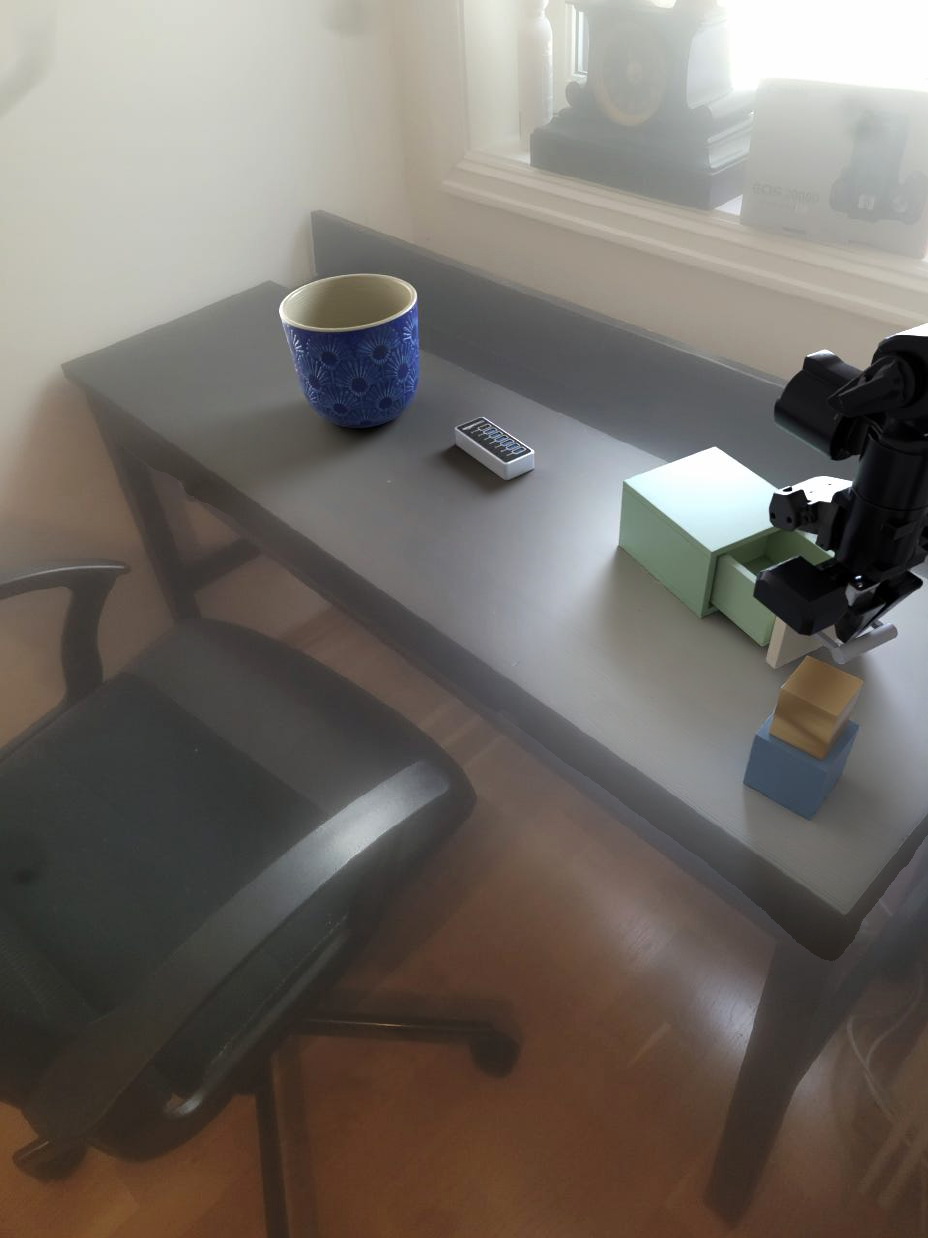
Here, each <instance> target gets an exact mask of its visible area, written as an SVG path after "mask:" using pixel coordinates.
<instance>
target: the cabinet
mask: <svg viewBox="0 0 928 1238" xmlns="http://www.w3.org/2000/svg"><path fill="white" fill-rule="evenodd" d="M778 490H779V489H778V488H777V487H775V486H774V485H773V484H772V483H770V482H768V481H767V480H765V479H764V478H762V477H761V476H759V475H758V474H756V473H755V472H753V471H752V470H750V469H749V468H748V467H746V466H744V465H743V464H742V463H740V462H738V461H737V460H736V459H734V458H733V457H731V456H730V455H728V453H726V452H724V451H723V450H721V449H720V448H718V447H717V446H713V447H710V448H707V449H704V450H701V451H699V452H696V453H694V454H692V455H688V456H685V457H683V458H680V459H677V460H675V461H672V462H669V463H666V464H664V465H661V466H659V467H655V468H653V469H650V470H647V471H644V472H642V473H640V474H636V475H635V476H632V477H629V478H626V479H624V480H622V493H621V503H620V504H621V505H620V519H619V532H618V545H619V546H620V547H621V548H622V549H623V550H624V551H625V552H626V553H627V554H628V555H630V556H631V557H632V558H633V559H634V560H635V561H636V562H637V563H638V564H640V565H641V566H642V567H643V568H644V569H645V570H646V571H647V572H649V573H650V574H651V575H652V576H653V577H654V578H655V579H656V580H657V581H659V582H660V583H661V584H662V586H664V588H667V590H668V591H669V592H670V593H672V594H673V596H675V597H676V598H677V599H678V600H680V602H682V603H683V604H684V605H685V606H686V607H687V608H688V609H690V610H691V611H692V612H693V613H694V614H695V615H696V616H697V617H698V618H700V619H702V618H704V617H707V616H709V615H711V614H713V613H715V612H718V611H720V610H719V609H718V608H717V607H716V606H715V605H713V604H712V603H711V602H710V601H709V600H710V594H711V588H712V582H713V577H714V571H715V565H716V559H717V556H718V555H721V554H723V553H726V552H728V551H730V550H733V549H735V548H738V547H740V546H742V545H745V544H747V543H749V542H752V541H754V540H757V539H759V538H761V537H764V536H766V535H769V534H771V533H773V532H776V531H778V530H781V529H779V528H776V527H774V526H773V525H772V524H771V522H770V520H769V505H770V502H771V499H772V496H773V493H774V492H775V491H778Z"/></svg>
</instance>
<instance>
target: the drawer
mask: <svg viewBox="0 0 928 1238" xmlns="http://www.w3.org/2000/svg"><path fill="white" fill-rule="evenodd" d="M816 539H817V537H814V536H813V534H812V535H811V533H807V532H804V531H800V530H795V531H793V532H790V531H786V530H783V529H781V530H778V531H776V532H773V533H771V534H769V535H766V536H764V537H761V538H759V539H757V540H754V541H752V542H749V543H747V544H745V545H742V546H740V547H738V548H735V549H733V550H730V551H728V552H726V553H723V554H721V555H718V556H717V559H716V565H715V571H714V577H713V582H712V588H711V594H710V600H709V601H710V602H711V603H712V604H713V605H715V606H716V607H717V608H718V609H719V610H718V611H720V612H721V613H723V615H725V616H726V617H727V618H728V619H729V620H730V621H732V622H733V623H734V624H735V625H736V626H737V627H739V628H740V629H741V630H742V631H743V632H744V633H745V634H747V635H748V636H749V637H750V638H751V639H752V640H754V641H755V642H756V643H757V644H758V645H759V646H760V647H764V646H767V645H768V649H767V654H766V657H765V662H766V663H767V664H768V665H769V666H771V667H772V668H773V669H774V670H777V669H778V668H781V667H783V666H784V665H786V664H789V663H791V662H793V661H794V660H795V661H796V660H797V659H799V658H801V657H803V656H806V655H808V654H809V653H811V652H814V651H816V650H818V649H820V648H822V647H825V648H826V649H827V650H829V651H830V652H831V657H832V660H834V661H835V663H837V664H840V665H843V664H845V663H848V662H850V661H851V660H853V659H855V658H857V657H860V656H861V655H864V654H866V653H868V652H870V651H871V650H873V649H876V648H878V647H880V646H882V645H883V644H886V643H888V642H890V641H892V640H894V639H896V638H897V637H898V634H899V632H898V628H897V627H896V626H895V624H894V623H891V622H887V623H883V622H882V621H881V620H880V619H878V620H877V621H876V622H875V623H873V624H872V625H871V626H870V627H871V628H872V630H870V631H867V632H866V633H863V634H860V635H859V636H858V637H856V638H855V639H853V640H851V641H849V642H847V643H845V644H844V643H843V644H840V645H839V644H838V643H837V642H836V640H839V639H838V638H837V637H836V633H835V627H834V625H832V626H830V627H828V628H826V629H824V630H822V631H820V632H818V633H815V634H813V635H811V636H806V635H800V634H798V633H797V632H795V631H794V630H793V629H792V628H791V627H789V626H788V625H787V624H786V623H785V622H783V621H782V620H781V619H780V618H778V617H777V616H776V615H775V614H774V613H772V612H771V611H770V610H769V609H768V608H766V607H765V606H764V605H763V604H761V603H760V602H759V601H758V600H757V599H755V598H754V597H753V592H754V586H755V582H756V577H757V573H758V572H760V571H762V570H765V569H767V568H769V567H772V566H774V565H776V564H779V563H781V562H783V561H786V560H788V559H790V558H794V557H798V556H802V557H803V558H805V559H806V560H807V561H809V562H810V563H811V564H813V565H817V564H819V563H821V562H823V561H826V560H828V559H830V558H832V557H834V554H835V553H834V552H833V551H831V550H829V551H827V552H826V551H824V550H823V549H821V548H820V547H819V546H817V545H816V544H815V542H816Z"/></svg>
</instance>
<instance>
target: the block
mask: <svg viewBox="0 0 928 1238" xmlns="http://www.w3.org/2000/svg"><path fill="white" fill-rule="evenodd" d="M863 685H864V680H863V679H860V678H858V677H856V676H854V675H851V674H850V673H847V672H845V671H842V670H840V669H838V668H836V667H834V666H832V665H829V664H827V663H826V662H824V661H821V660H820V659H817V658H814V657H812V656H810V655H806V656H805V658H804V659H803V660H802V661H801V663H799V665H798V667H797V668H796V669H794V671H793V672H792V674H791V675H790V676H789V677H788V679H787V680H785V683H783V684H782V686H781V687H780V689H779V693H778V696H777V700H776V704H775V707H774V710H775V711H774V710H773V712H774V715H773V718H772V722H771V726H770V729H769V733H770V734H771V735H773V736H775V737H777V738H779V739H781V740H783V741H785V742H787V743H789V744H791V745H792V746H794V747H796V748H798V749H800V750H802V751H804V752H806V753H808V754H810V755H812V756H813V757H815V758H817V759H819V760H821V761H822V760H823V759H824V758H825V756H826V755H827V754H828V752H829V751H830V749H831V748H832V747H833V745H834V744H835V743H836V741H837V740H838V738H839V737H840V736H841V734H842V733H843V731H844V730H845V729H846V727H847V725H848V723H849V720H850V721H851V718H852V714H853V712H854V709H855V706H856V703H857V701H858V699H859V695H860V693H861V690H862V687H863Z"/></svg>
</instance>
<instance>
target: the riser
mask: <svg viewBox="0 0 928 1238" xmlns="http://www.w3.org/2000/svg"><path fill="white" fill-rule="evenodd" d="M774 711H775V709H774V710H773V711H772V713H771V714H770V715H769V716H768V718H767V719H766V720H765V721H764V723H763V724H762V725H761V726H760V728H759V729H758V730H757V731H756V733H755V734H754V738H753V740H752V745H751V749H750V753H749V758H748V759H747V760H748V761H747V763H746V764H747V765H746V768H745V772H744V776H743V780H742V783H743V784H745V785H746V786H748V787H750V788H752V789H753V790H755V791H757V792H759V793H761V794H762V795H763V796H766V797H768V798H769V799H771V800H773V801H775V802H776V803H778V804H780V805H782V806H783V807H785V808H787V809H789V810H791V811H792V812H794V813H796V814H798V815H799V816H801V817H803V818H804V819H807V820H808V821H810V820H811V819H812V818H813V816H814V815H815V814H816V812H817V811H818V809H819V808H820V807H821V805H822V804H823V802H824V800H825V799H826V798H827V797H828V795H829V794H830V792H831V790H832V789H833V788H834V786H835V785H836V783H837V782H838V780H839V779H840V778H841V776H842V775H843V772H844V769H845V767H846V765H847V761H848V759H849V756H850V754H851V751H852V748H853V747H854V743H855V741H856V738H857V735H858V733H859V730H860V728H861V725H860V724H858V723H856V722H854V721H852V720H851V719H850V720H849V723H848V725H847V727H846V729H845V730H844V731H843V733H842V734H841V736H840V737H839V738H838V740H837V741H836V743H835V744H834V745H833V747H832V748H831V749H830V751H829V752H828V754H827V755H826V756H825V758H824V759H823V760H822V761H821V760H819V759H817V758H815V757H813V756H812V755H810V754H808V753H806V752H804V751H802V750H800V749H798V748H796V747H794V746H792V745H791V744H789V743H787V742H785V741H783V740H781V739H779V738H777V737H775V736H773V735H771V734H770V733H769V729H770V726H771V722H772V718H773V715H774Z"/></svg>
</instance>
